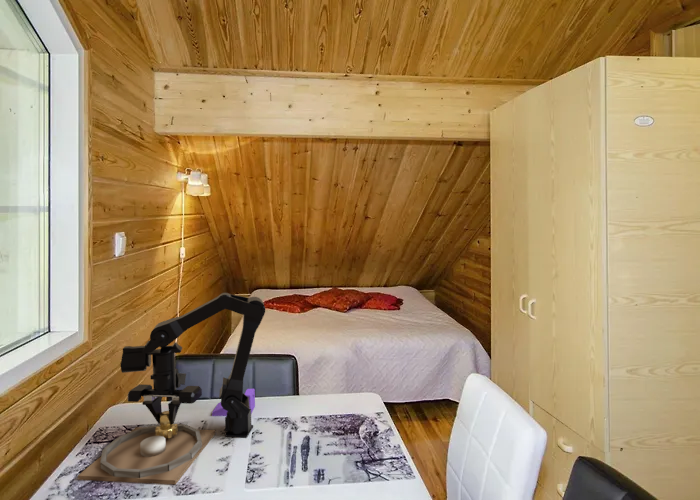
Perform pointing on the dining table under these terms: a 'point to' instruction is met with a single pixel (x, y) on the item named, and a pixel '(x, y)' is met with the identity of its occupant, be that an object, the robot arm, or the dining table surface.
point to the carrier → (149, 456)
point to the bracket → (222, 412)
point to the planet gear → (166, 426)
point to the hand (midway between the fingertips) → (166, 423)
